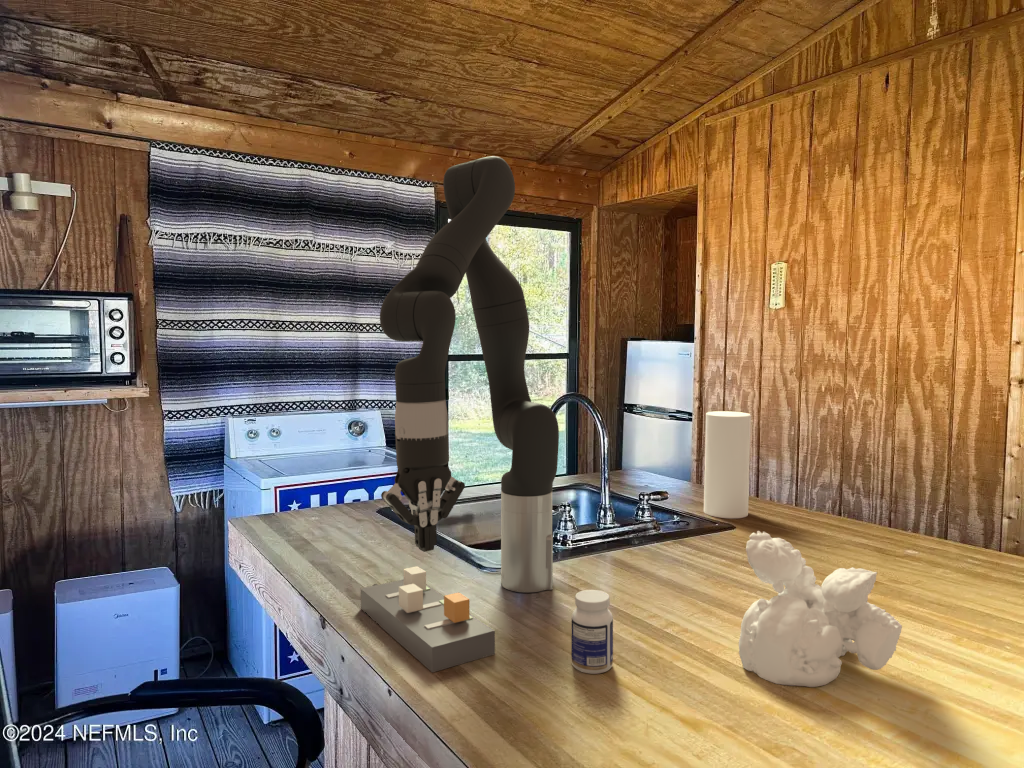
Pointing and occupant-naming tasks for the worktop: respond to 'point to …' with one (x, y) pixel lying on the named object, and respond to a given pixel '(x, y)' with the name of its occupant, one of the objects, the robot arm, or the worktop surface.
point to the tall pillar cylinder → (727, 464)
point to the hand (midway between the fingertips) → (426, 549)
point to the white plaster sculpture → (810, 619)
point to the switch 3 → (456, 607)
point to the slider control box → (428, 627)
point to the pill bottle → (592, 632)
